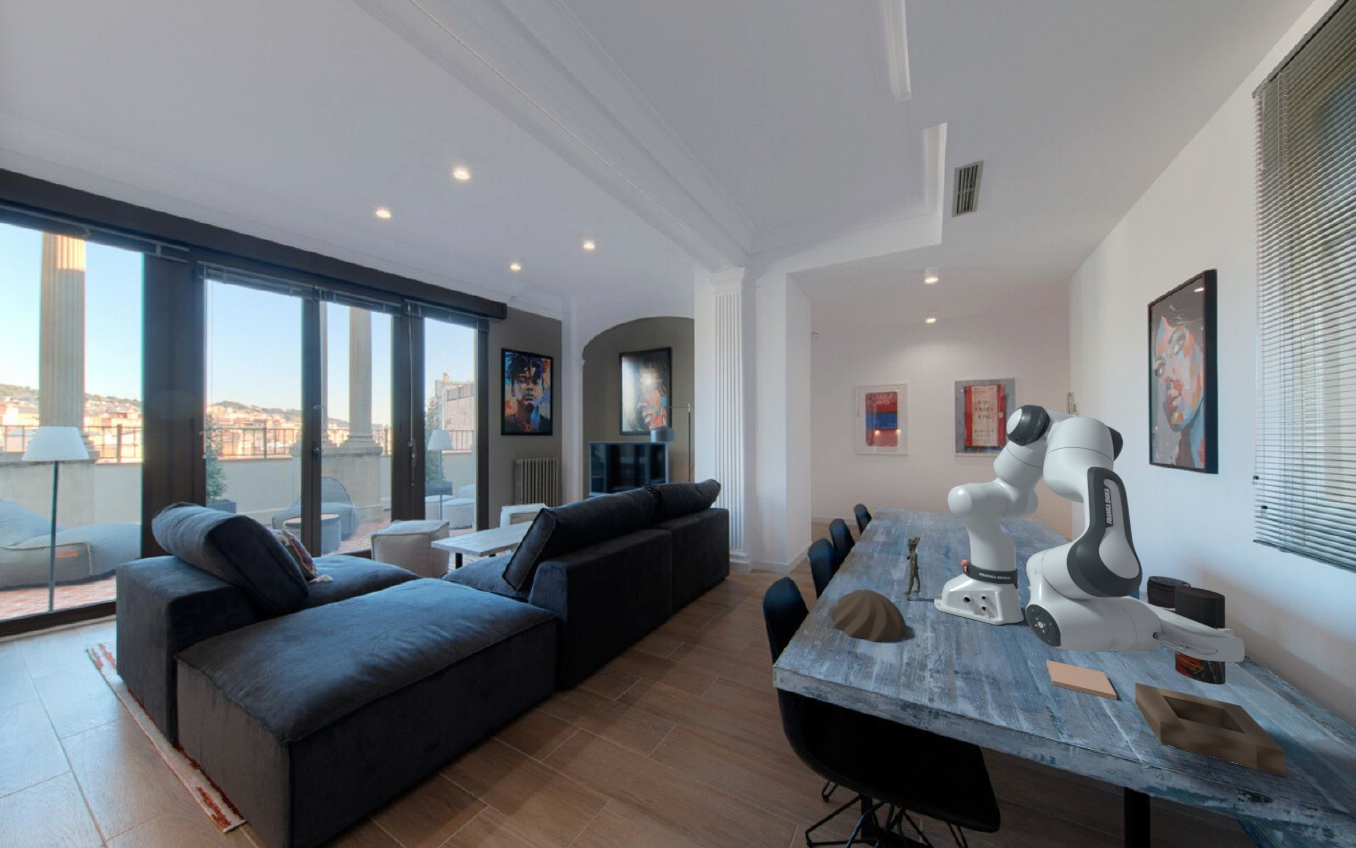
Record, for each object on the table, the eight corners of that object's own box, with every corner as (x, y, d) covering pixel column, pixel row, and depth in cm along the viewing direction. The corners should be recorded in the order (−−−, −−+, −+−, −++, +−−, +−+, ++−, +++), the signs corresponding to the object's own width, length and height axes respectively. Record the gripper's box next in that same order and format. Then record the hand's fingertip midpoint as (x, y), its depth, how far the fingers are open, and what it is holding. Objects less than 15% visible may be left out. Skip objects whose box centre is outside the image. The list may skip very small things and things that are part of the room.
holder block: (1160, 744, 79) (1160, 721, 79) (1135, 702, 91) (1135, 682, 91) (1285, 777, 71) (1285, 752, 71) (1240, 727, 83) (1240, 705, 83)
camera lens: (1150, 639, 117) (1149, 581, 117) (1145, 628, 123) (1144, 573, 123) (1197, 648, 112) (1196, 588, 112) (1189, 636, 118) (1188, 579, 118)
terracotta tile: (1053, 685, 97) (1053, 680, 97) (1046, 664, 105) (1046, 660, 105) (1116, 700, 91) (1116, 695, 91) (1103, 676, 100) (1103, 672, 100)
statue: (897, 596, 148) (896, 535, 148) (916, 595, 148) (915, 535, 148) (905, 601, 143) (904, 539, 143) (924, 601, 143) (923, 538, 143)
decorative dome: (839, 606, 140) (839, 575, 140) (910, 621, 129) (910, 587, 129) (822, 630, 124) (821, 594, 124) (901, 650, 113) (900, 610, 113)
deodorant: (1236, 686, 78) (1236, 599, 78) (1195, 682, 79) (1195, 597, 79) (1203, 667, 83) (1203, 587, 83) (1165, 664, 85) (1165, 585, 85)
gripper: (1193, 633, 71) (1281, 633, 71) (1078, 586, 91) (1145, 586, 91) (1194, 673, 71) (1281, 673, 71) (1078, 617, 91) (1146, 617, 91)
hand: (1204, 623), depth 81 cm, fingers closed on deodorant, 6 cm apart
